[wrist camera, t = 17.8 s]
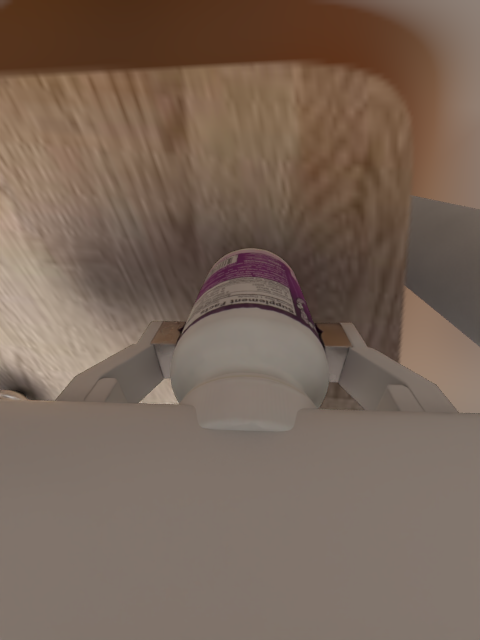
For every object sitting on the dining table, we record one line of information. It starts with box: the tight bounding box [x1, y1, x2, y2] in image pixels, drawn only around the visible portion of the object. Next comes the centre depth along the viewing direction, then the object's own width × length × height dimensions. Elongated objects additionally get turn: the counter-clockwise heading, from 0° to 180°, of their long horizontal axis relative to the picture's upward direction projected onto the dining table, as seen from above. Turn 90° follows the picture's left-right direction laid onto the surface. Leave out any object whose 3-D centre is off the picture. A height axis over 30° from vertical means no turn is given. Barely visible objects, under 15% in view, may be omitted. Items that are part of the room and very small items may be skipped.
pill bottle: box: [170, 248, 329, 432], centre depth 10 cm, size 5×5×10 cm
